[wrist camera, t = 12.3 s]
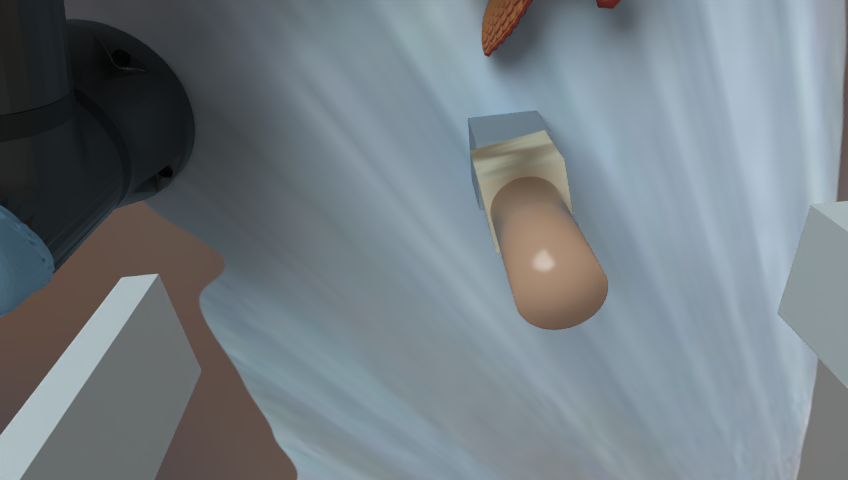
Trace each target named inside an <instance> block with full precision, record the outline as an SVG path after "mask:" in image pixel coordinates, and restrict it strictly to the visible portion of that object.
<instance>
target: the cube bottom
mask: <svg viewBox="0 0 848 480" xmlns="http://www.w3.org/2000/svg"><path fill="white" fill-rule="evenodd" d="M468 127H469V142H470V151H471V150H474V149H478V148H482V147H485V146H489V145H492V144H496V143H500V142H503V141H507V140H511V139H514V138H518V137H521V136H525V135H529V134H532V133H536V132H540V131H543V130H545V131H546V133H547V134H548V136H549V137H550V139H551V141H552V133H551V132H550V130H549V129H548V127H547V126H546V124H545V123H544V122H543V120H542V119H541V117H540V116H539V114H538V113H537V111H527V112H518V113H510V114H501V115H492V116H483V117H474V118H468ZM470 158H471V174H472V182H473V186H474V190H475V194H476V198H477V201H478V205H479V209H480V210H485V209H484V205H483V201H482V197H481V193H480V189H479V185H478V181H477V177H476V173H475V169H474V165H473V161H472V157H471V153H470Z"/></svg>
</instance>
